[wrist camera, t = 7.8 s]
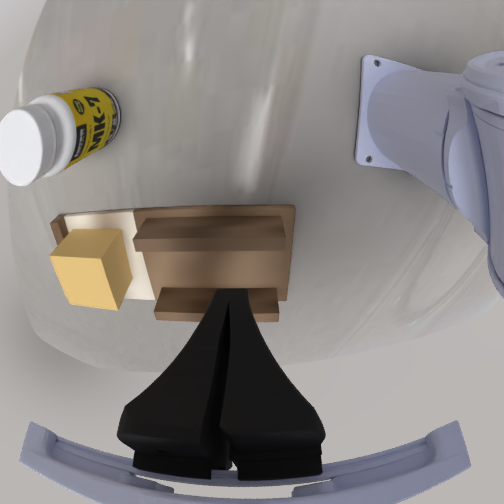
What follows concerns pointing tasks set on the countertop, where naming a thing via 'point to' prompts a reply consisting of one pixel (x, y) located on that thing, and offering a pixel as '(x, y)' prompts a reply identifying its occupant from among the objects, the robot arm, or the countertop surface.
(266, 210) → the walnut chute
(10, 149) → the supplement bottle
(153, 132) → the countertop surface
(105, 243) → the ochre block
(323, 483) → the robot arm
